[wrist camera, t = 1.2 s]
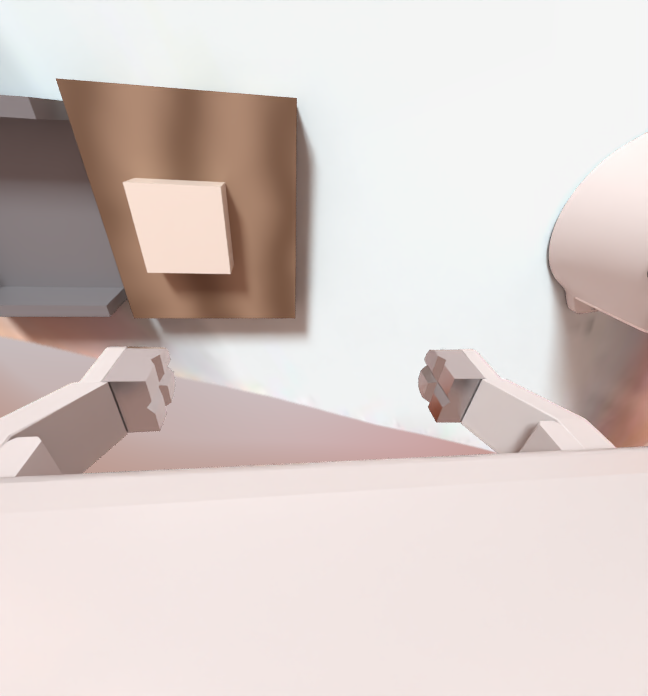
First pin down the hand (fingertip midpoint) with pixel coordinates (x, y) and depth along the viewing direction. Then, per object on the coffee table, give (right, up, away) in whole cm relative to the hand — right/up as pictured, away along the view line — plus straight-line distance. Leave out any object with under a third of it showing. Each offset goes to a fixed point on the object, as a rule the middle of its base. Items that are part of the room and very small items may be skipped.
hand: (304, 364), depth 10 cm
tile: (-9, +10, +14) cm, 19 cm away
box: (-23, +11, +14) cm, 29 cm away
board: (-9, +11, +16) cm, 21 cm away
